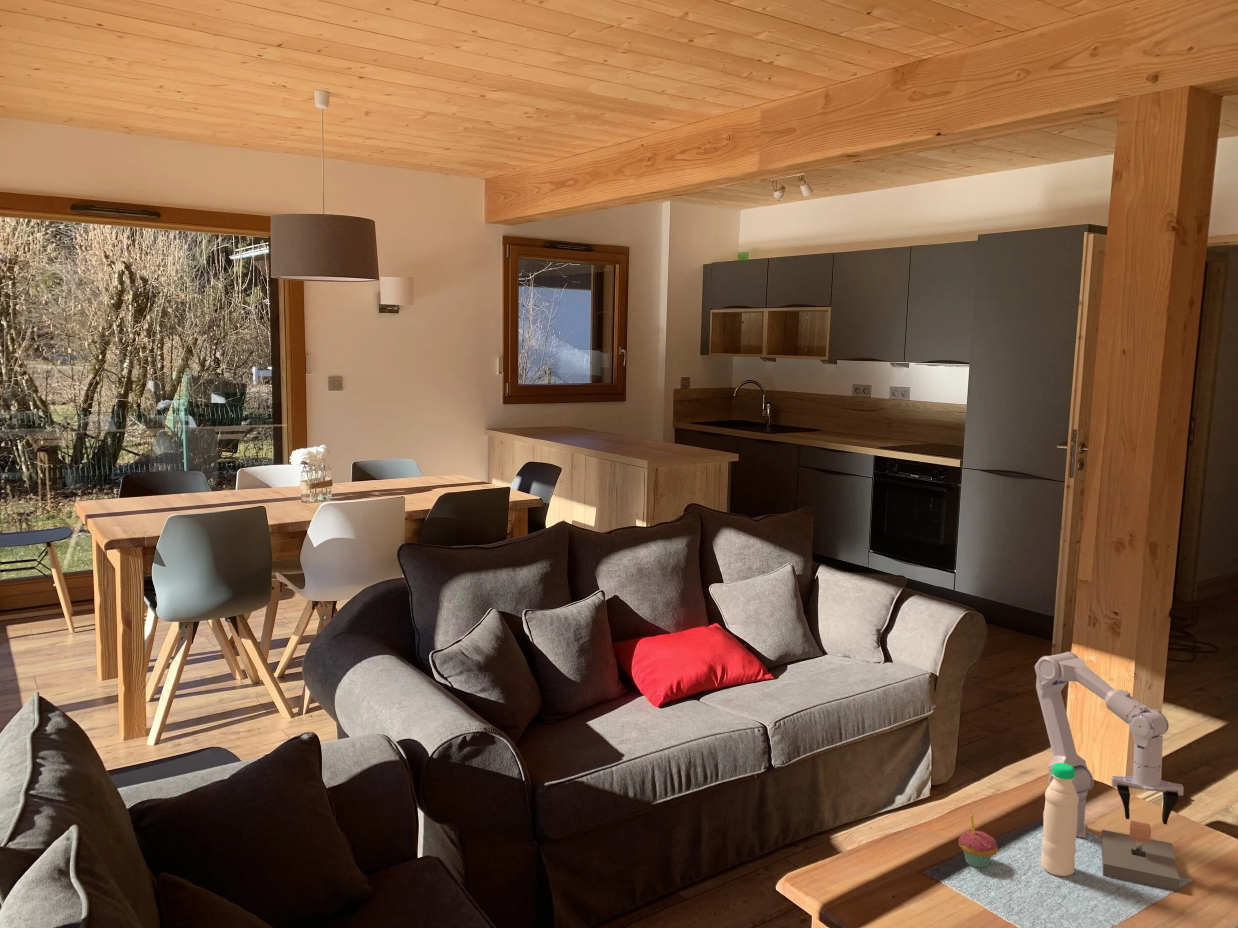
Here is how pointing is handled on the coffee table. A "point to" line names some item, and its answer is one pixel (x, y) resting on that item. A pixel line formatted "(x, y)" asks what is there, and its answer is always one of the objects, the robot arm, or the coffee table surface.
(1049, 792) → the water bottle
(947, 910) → the coffee table surface
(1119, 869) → the base
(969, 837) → the cupcake
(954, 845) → the coffee table surface
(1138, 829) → the orange rectangular block
